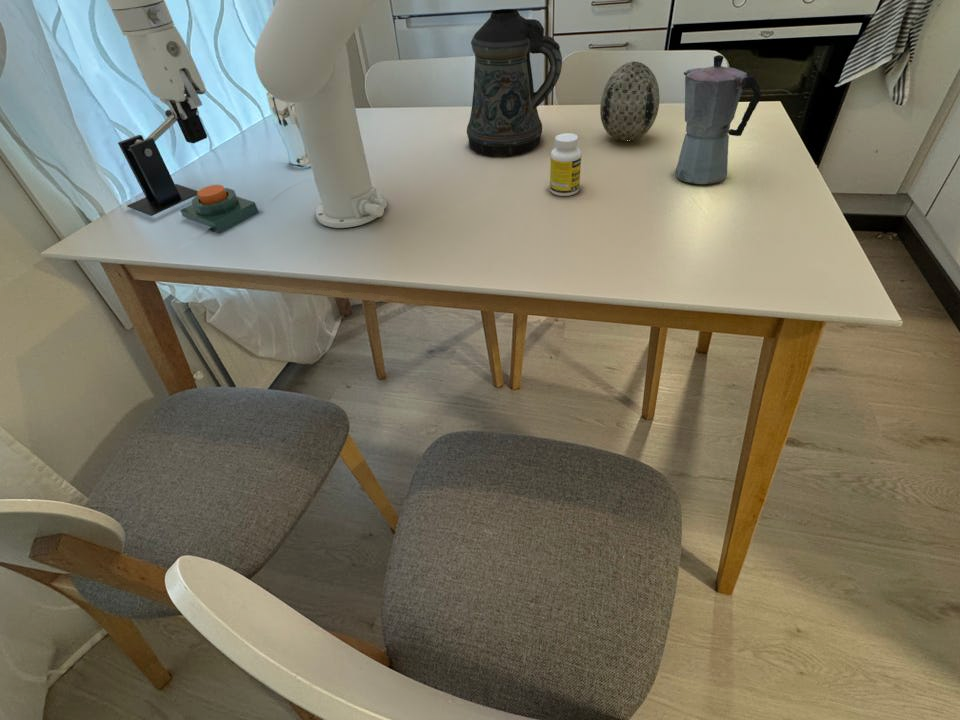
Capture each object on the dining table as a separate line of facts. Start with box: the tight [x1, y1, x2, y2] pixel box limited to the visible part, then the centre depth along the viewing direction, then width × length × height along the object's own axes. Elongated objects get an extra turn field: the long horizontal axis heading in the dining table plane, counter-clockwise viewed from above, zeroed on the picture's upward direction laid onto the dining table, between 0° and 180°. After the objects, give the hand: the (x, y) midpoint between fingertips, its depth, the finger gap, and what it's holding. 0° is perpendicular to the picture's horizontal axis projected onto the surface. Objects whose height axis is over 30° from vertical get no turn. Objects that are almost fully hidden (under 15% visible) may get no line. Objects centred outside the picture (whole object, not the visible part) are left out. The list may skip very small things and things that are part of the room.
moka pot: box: [675, 54, 762, 185], centre depth 95 cm, size 10×15×20 cm, turn 36°
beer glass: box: [265, 91, 311, 169], centre depth 117 cm, size 7×7×15 cm
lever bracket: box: [117, 134, 199, 217], centre depth 107 cm, size 11×9×13 cm
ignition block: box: [180, 187, 259, 235], centre depth 103 cm, size 11×9×4 cm
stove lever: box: [127, 109, 178, 155], centre depth 105 cm, size 12×6×2 cm, turn 144°
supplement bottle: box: [549, 132, 582, 197], centre depth 98 cm, size 5×5×10 cm
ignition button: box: [196, 184, 227, 204], centre depth 102 cm, size 5×5×2 cm
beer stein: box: [466, 8, 563, 158], centre depth 113 cm, size 16×19×25 cm
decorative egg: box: [599, 61, 661, 143], centre depth 112 cm, size 12×12×15 cm
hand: (197, 139), depth 96 cm, fingers closed
